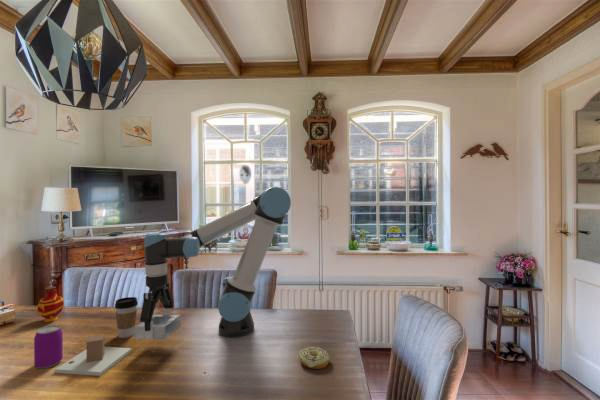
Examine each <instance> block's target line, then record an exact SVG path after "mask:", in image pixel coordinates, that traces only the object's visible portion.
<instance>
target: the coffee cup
mask: <svg viewBox="0 0 600 400" xmlns="http://www.w3.org/2000/svg"><path fill="white" fill-rule="evenodd" d="M137 307H138V299H137V297H135V296H131V297H130V296H128V297H122V298H119V299H116V300H115V304H114V309H115V316H116V317H115V319H116V326H117V327H116V329H117V337H119V338H120V339H126V338H130V337H132V336H135V326H136V321H137V319H136V318H137V312H138V308H137Z"/></svg>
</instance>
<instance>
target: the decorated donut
mask: <svg viewBox="0 0 600 400" xmlns="http://www.w3.org/2000/svg"><path fill="white" fill-rule="evenodd" d="M329 354H330V353H328V351H327V350H326V349H324V348H321V347H316V346H308V347H305V348H303V349H301V350H300V351H299V354H298V358H299V362H300V363H301V365H303V366H304V367H306V368H307V369H308V368H309V369H312V370H321V369H325V368H326V367H327V366H328V365H329V362H330V359H331V358H330V355H329Z"/></svg>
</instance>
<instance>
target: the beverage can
mask: <svg viewBox="0 0 600 400" xmlns="http://www.w3.org/2000/svg"><path fill="white" fill-rule="evenodd" d="M63 334H64V333H63V331H62V328H61V327H60V325H56V324H55V325H47V326H44V327H41V328H38V330H37V331H36V333H35V335H34V338H33V341H34V343H33V350H34V353H33V354H34V355H33V356H34V359H33V361H34V367H35V368H38V369H47V368H52V367H54V366H56V365H58V364H59V363H60V362H61V361H62V360H63V359H64V358H63V356H64V353H63V352H64V351H63V350H64V349H63V346H64V345H63V340H64V339H63Z"/></svg>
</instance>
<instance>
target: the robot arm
mask: <svg viewBox="0 0 600 400" xmlns="http://www.w3.org/2000/svg"><path fill="white" fill-rule="evenodd" d="M291 205H292V201H291V197H290V194H289V193H288V192H287V190H286V189H284V188H282V187H279V186H271V187H267V188H266V189H264V191H263V192H262V193H260V194H259V195H257V196H255V197H254V198H251V200H250V202H249V203H247V204H245V205H243V206H240V207H238V208H237V209H235V210H233V211H231V212H229V213H227V214H224V215H222V216H221V217H219V218H216V219H214V220H212V221H211V222H209V223H207V224H205V225H202V226H200V227H198V228H196V229H195V230H193V231H190V232H188V233H185V234H184V235H183V236H182V237H174V238H173V237H171V238H167V235H166V233H164V232H157V233H156V232H154V233H149V234H146V235H145V236H144V245H143V246H144V247H143V249H144V250H143V251H144V264H145V266H144V268H145V269H144V270H145V276H146V277H145V286H146V287H148V288H149V289H148V292H144V293H143V302H142V307H141V312H140V317H139V322H140V323H141V322H144V323H145V339H144V340H155V339H154V337H153V321H151V320H152V316H153V315H154V314H155V313H154V311H155V309H156V305H157V303H158V302H159V301H160V303H161V305H162V306H163V308H162V315H171V309H173V307H174V300H173V297H172V293H171V289H170V283H169V282H168V281H169V279H168V261H167V259H178V258H180V259H181V258H182V259H183V258H188V259H189V258H193V257H198V256H199V254H200V250H201V249H200V248H202V247H204V246H205V245H207V244H210V243H211V242H213V241H216V240H217V239H219V238H222V237H223V236H225V235H228V234H229V233H231V232H233V231H236V230H237V229H239V228H242V227H244V226H246V225H248V224H249V223H251V222H253V221H255V222H254V224H253V226H252V228H251V232H250V234H249V237H248V239H247V242H246V244H245V246H244V249H243V252H242V254H241V257H240V259H239V261H238V264H237V267H236V269H235V272H234V274H233V276H226V277H224V278H222V279H223V280H222V284H221V285H222V293H221V295H220V299H219V300H218V302H217V308H218V314H219V315H220V316H221V318H220V319H219V324H218V333H219V335H221V336H224V337H228V338H238V337H244V336H247V335H249V334H251V333H252V332H254V329H255V322H254V319H253V316H252V313H251V303H252V300H253V299H254V298H253V297H254V296H255V292H256V291H257V288H256V286H255V282H256V280H257V278H258V274H259V272H260V269H261V267H262V264H263V262H264V260H265V258H266V255H267V252H268V251H269V250H268V249H269V248H270V244H271V242H272V240H273V237H274V235H275V231H276V230H277V228H278V227H280V226H282V225H283V222H284V220H285V217H286V215H287V213H288V212H289V210H290V209H291Z"/></svg>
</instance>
